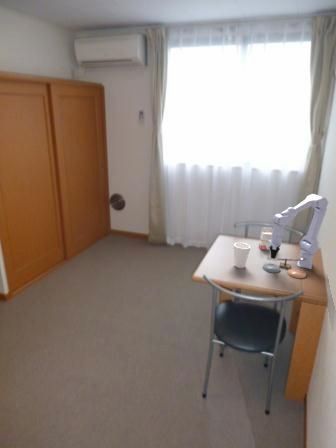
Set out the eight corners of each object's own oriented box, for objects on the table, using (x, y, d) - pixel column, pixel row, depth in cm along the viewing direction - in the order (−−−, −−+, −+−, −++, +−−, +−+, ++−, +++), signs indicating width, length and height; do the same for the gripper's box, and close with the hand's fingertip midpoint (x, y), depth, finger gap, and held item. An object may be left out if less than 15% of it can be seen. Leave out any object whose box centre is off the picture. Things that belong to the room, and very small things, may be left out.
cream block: (269, 256, 193) (271, 247, 191) (277, 258, 191) (279, 248, 189) (268, 259, 189) (270, 250, 187) (276, 261, 187) (278, 251, 185)
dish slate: (263, 263, 198) (264, 262, 198) (280, 267, 195) (281, 265, 194) (261, 270, 189) (261, 268, 189) (279, 274, 186) (279, 272, 186)
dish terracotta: (287, 268, 193) (288, 267, 193) (305, 272, 190) (306, 270, 189) (286, 275, 184) (287, 274, 184) (305, 279, 181) (305, 278, 181)
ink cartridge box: (260, 250, 218) (263, 229, 213) (258, 247, 223) (261, 226, 218) (273, 250, 219) (276, 229, 214) (270, 247, 223) (274, 227, 218)
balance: (266, 260, 202) (268, 249, 200) (303, 268, 194) (306, 257, 192) (265, 264, 198) (267, 252, 195) (303, 272, 190) (306, 260, 188)
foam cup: (247, 270, 189) (250, 249, 185) (231, 268, 191) (234, 247, 186) (247, 263, 198) (249, 243, 193) (231, 261, 199) (234, 241, 195)
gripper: (271, 229, 193) (268, 250, 197) (268, 237, 180) (264, 259, 185) (283, 231, 190) (280, 253, 195) (281, 240, 178) (277, 262, 182)
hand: (273, 256), depth 189 cm, fingers closed on cream block, 5 cm apart
